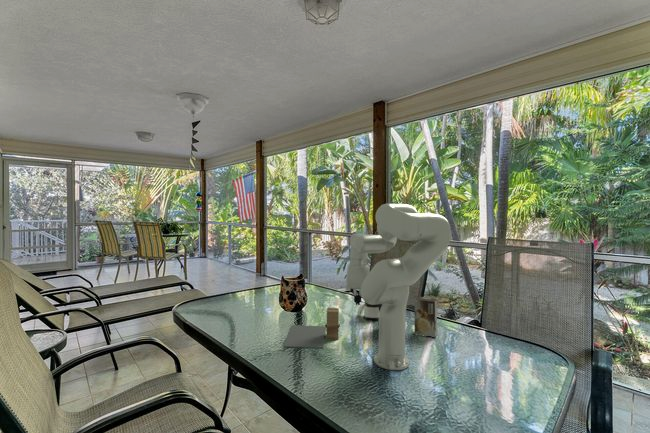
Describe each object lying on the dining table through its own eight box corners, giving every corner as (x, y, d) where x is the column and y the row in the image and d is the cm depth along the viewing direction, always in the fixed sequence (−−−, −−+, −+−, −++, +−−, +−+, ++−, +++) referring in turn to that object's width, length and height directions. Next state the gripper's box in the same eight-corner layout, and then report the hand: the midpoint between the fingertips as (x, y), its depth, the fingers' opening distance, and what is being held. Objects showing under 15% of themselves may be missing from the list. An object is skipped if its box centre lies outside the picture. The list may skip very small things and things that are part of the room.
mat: (323, 348, 128) (323, 347, 128) (283, 347, 128) (283, 346, 128) (325, 327, 152) (325, 326, 152) (292, 326, 152) (292, 325, 152)
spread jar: (380, 321, 160) (381, 298, 160) (358, 321, 161) (358, 298, 161) (377, 314, 172) (377, 292, 172) (356, 313, 173) (356, 292, 173)
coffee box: (437, 333, 145) (437, 298, 145) (435, 338, 140) (435, 301, 139) (416, 330, 149) (417, 295, 149) (413, 334, 144) (414, 299, 144)
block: (338, 339, 137) (338, 311, 137) (326, 339, 137) (326, 311, 137) (338, 335, 142) (338, 308, 142) (327, 334, 142) (327, 307, 142)
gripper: (375, 261, 142) (373, 302, 143) (341, 260, 143) (340, 300, 143) (377, 264, 135) (375, 307, 135) (341, 263, 135) (340, 306, 136)
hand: (357, 303), depth 139 cm, fingers closed
